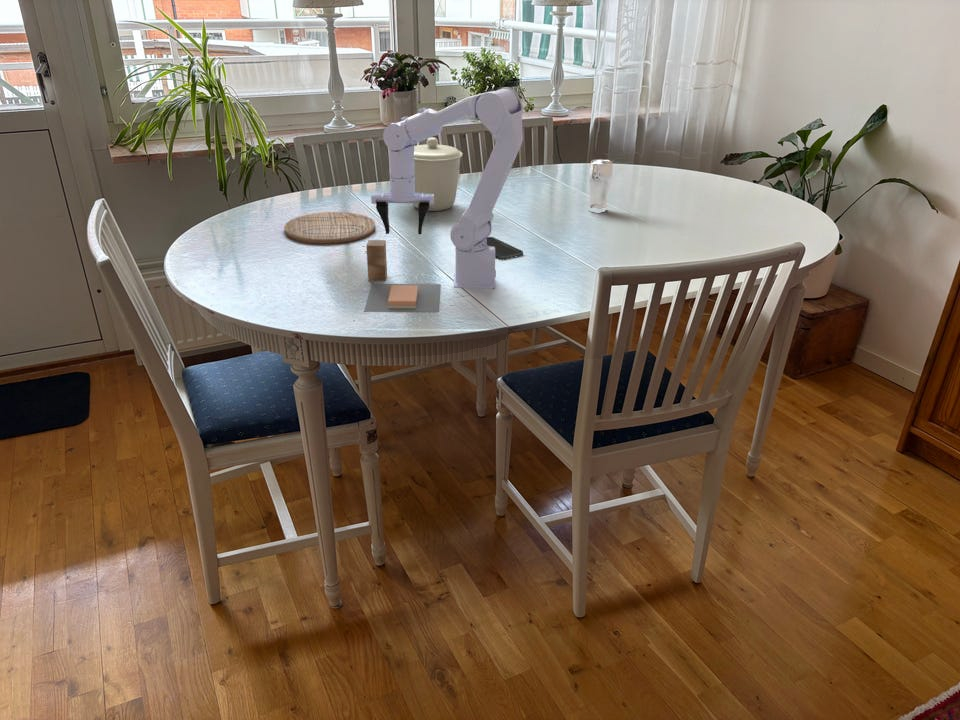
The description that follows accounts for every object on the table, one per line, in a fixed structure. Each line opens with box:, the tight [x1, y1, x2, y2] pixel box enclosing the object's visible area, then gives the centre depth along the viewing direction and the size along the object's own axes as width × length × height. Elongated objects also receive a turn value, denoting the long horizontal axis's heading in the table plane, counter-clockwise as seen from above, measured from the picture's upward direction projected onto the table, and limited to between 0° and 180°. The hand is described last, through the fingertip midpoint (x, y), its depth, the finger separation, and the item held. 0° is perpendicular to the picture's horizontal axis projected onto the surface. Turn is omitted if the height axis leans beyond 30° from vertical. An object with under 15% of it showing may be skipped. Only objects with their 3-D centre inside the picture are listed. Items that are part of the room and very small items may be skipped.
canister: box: [411, 136, 463, 212], centre depth 225 cm, size 18×18×21 cm
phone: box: [486, 236, 524, 261], centre depth 195 cm, size 8×1×15 cm
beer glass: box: [587, 158, 614, 209], centre depth 226 cm, size 7×7×15 cm
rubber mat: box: [363, 283, 442, 313], centre depth 165 cm, size 16×16×1 cm
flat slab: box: [388, 285, 418, 308], centre depth 163 cm, size 6×2×9 cm
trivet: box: [284, 211, 376, 246], centre depth 207 cm, size 25×25×2 cm
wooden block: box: [365, 239, 388, 282], centre depth 173 cm, size 4×4×9 cm
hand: (403, 232), depth 176 cm, fingers open, 7 cm apart
